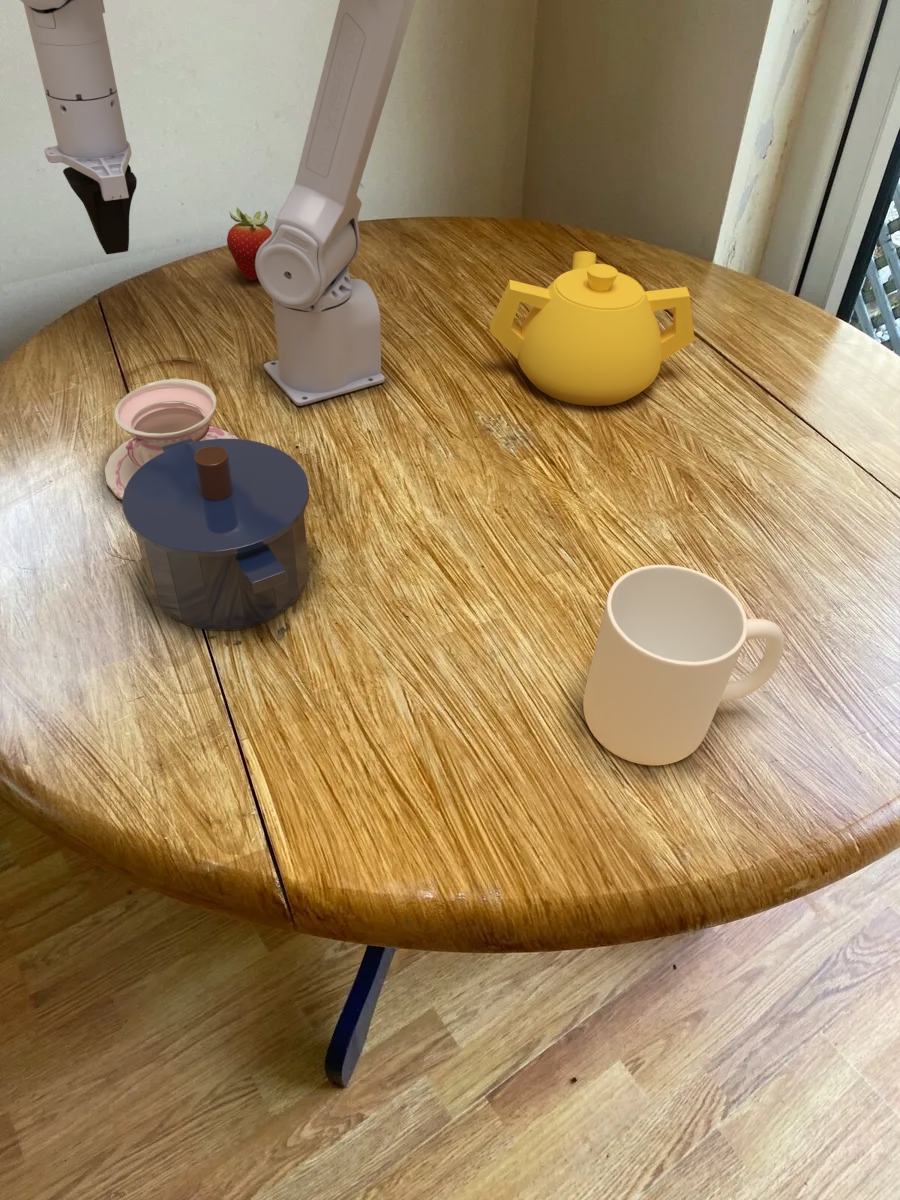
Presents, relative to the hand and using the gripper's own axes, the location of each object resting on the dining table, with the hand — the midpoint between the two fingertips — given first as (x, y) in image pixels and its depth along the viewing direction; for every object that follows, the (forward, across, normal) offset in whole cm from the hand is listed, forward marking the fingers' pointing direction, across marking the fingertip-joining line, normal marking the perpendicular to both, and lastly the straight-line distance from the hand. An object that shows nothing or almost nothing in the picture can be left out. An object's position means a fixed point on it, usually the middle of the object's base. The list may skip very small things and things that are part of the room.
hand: (115, 250), depth 85 cm
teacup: (+10, +23, -2) cm, 25 cm away
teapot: (+10, +21, +40) cm, 46 cm away
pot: (+9, +37, -2) cm, 38 cm away
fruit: (+10, -9, +15) cm, 20 cm away
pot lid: (+2, +37, -2) cm, 37 cm away
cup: (+10, +62, +21) cm, 66 cm away
